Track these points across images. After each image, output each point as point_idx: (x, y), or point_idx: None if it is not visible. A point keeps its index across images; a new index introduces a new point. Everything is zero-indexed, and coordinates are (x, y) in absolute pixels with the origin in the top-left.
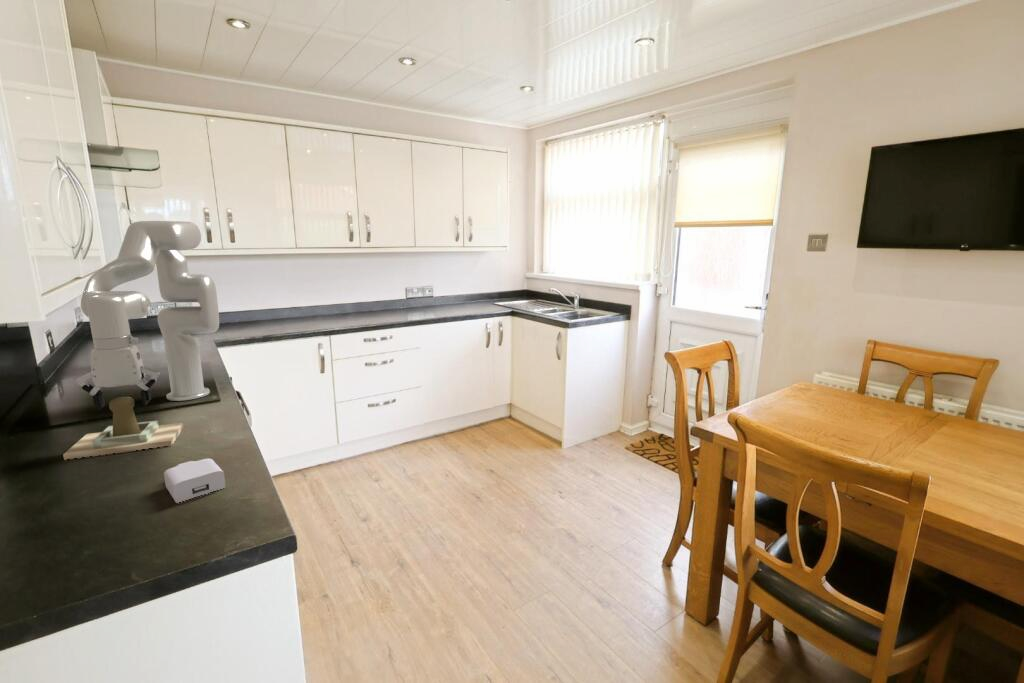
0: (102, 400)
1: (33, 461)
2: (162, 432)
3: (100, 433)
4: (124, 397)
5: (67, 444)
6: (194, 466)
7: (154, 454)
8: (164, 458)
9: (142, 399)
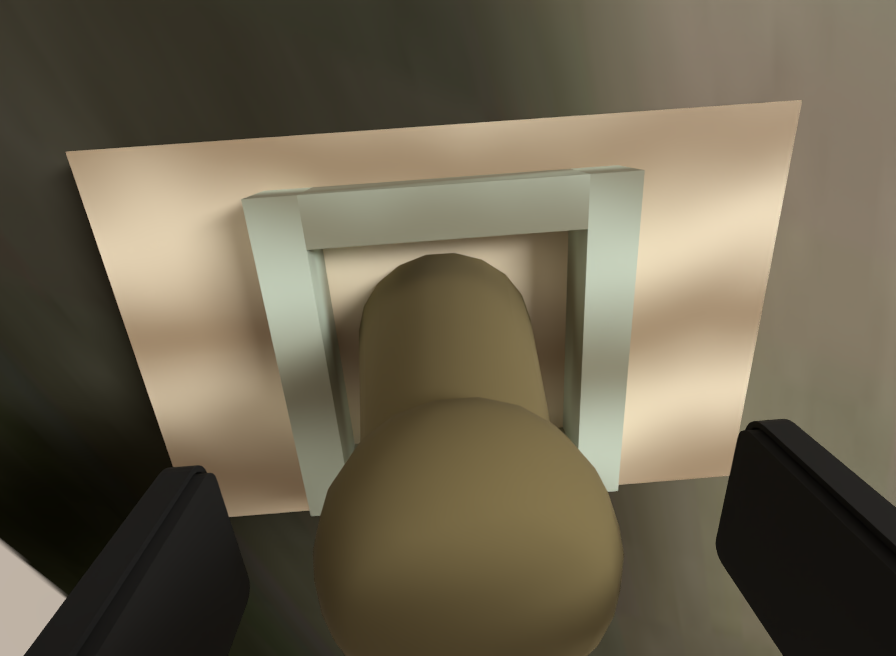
0: (182, 606)
1: (36, 466)
2: (665, 314)
3: (188, 181)
4: (525, 626)
5: (20, 231)
6: None
7: (640, 533)
8: (691, 584)
9: (770, 628)
